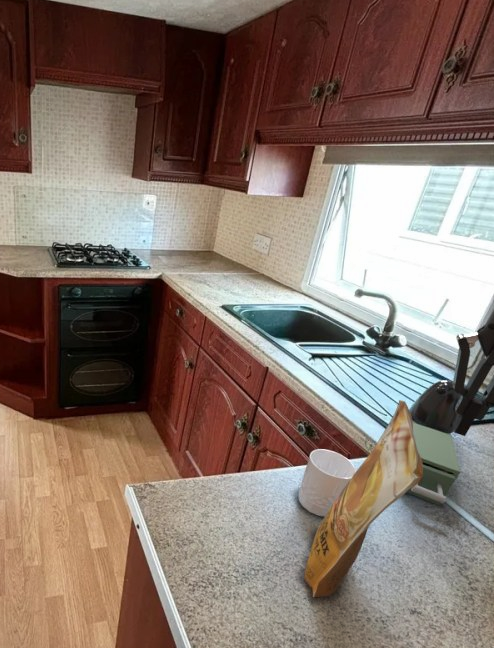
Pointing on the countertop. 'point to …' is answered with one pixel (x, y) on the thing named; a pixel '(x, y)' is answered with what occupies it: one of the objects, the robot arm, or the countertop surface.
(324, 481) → the white cup
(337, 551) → the pancake mix bag
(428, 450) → the cabinet
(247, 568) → the countertop surface
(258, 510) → the countertop surface
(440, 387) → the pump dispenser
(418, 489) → the drawer
